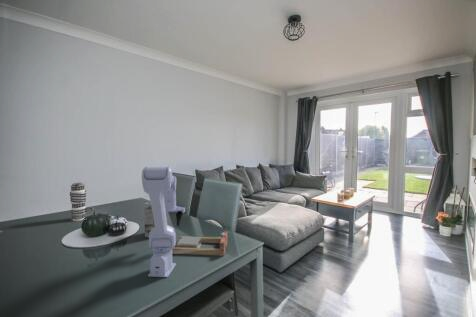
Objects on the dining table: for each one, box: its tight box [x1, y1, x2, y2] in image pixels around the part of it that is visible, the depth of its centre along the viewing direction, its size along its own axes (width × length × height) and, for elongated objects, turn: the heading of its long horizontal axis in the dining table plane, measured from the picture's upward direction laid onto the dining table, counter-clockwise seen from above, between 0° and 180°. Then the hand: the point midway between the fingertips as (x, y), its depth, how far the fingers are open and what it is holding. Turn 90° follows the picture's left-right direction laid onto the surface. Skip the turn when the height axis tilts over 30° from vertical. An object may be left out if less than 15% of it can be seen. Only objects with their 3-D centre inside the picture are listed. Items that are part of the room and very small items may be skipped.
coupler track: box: [172, 230, 229, 257], centre depth 109 cm, size 14×25×6 cm, turn 86°
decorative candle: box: [69, 182, 87, 222], centre depth 151 cm, size 9×9×25 cm
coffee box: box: [144, 205, 155, 238], centre depth 125 cm, size 9×6×16 cm
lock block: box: [176, 235, 203, 248], centre depth 110 cm, size 8×10×4 cm
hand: (171, 224), depth 110 cm, fingers open, 7 cm apart
